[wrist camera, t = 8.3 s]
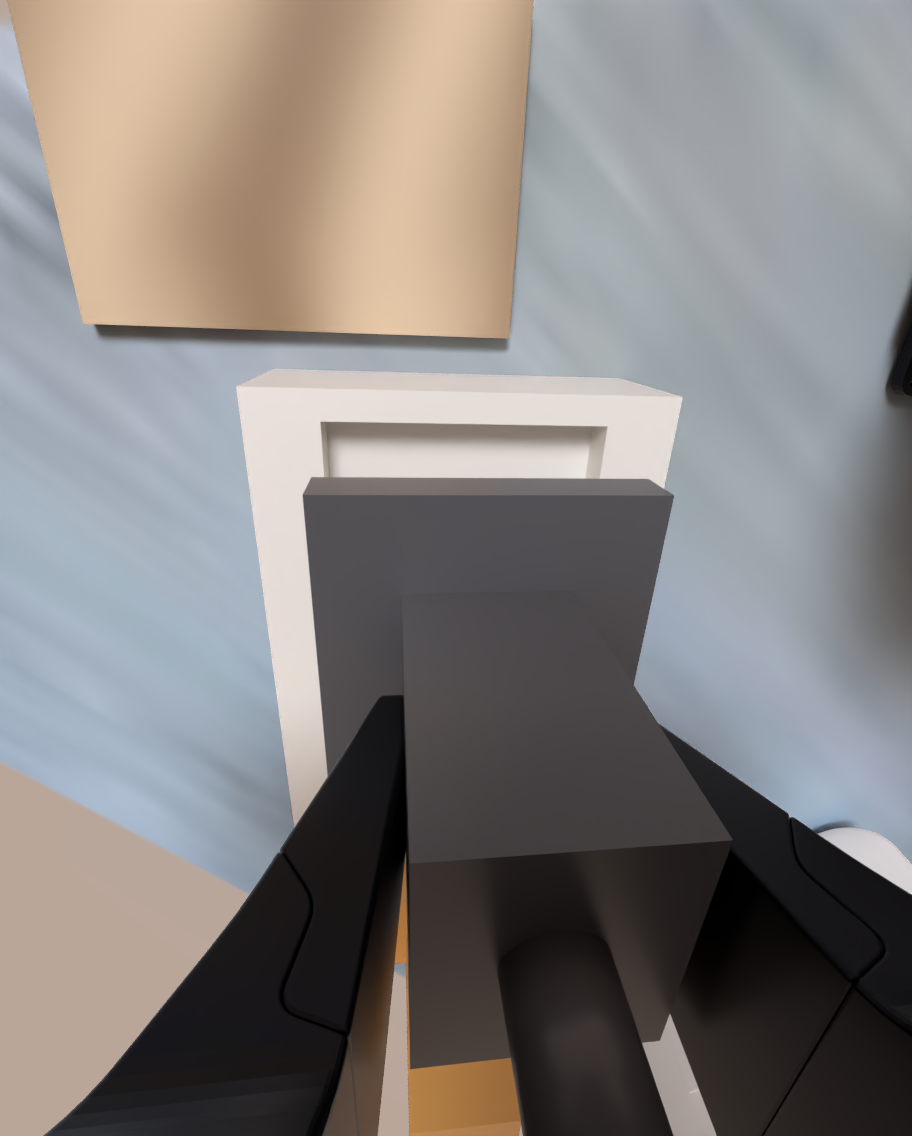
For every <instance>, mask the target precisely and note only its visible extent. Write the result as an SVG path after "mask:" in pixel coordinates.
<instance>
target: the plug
mask: <svg viewBox="0 0 912 1136" xmlns="http://www.w3.org/2000/svg"><path fill="white" fill-rule="evenodd" d="M673 498H674V495H672V494H671V493H669V492H668V491H666V490H665V489H663V488H662V487H660V486H659V485H657V484H656V483H654V482H652V481H651V480H649V479H584V478H386V477H311V479H310V481H309V483H308V485H307V487H306V489H305V491H304V493H303V506H304V518H305V529H306V540H307V551H308V562H309V573H310V585H311V596H312V607H313V618H314V629H315V640H316V652H317V663H318V674H319V685H320V696H321V707H322V719H323V730H324V741H325V752H326V763H327V774H328V775H329V774H330V772H331V771H332V769H333V767H334V766H335V764H336V763H337V761H338V760H339V758H340V757H341V755H342V754H343V752H344V751H345V749H346V747H347V746H348V744H349V743H350V741H351V740H352V738H353V737H354V735H355V734H356V732H357V731H358V729H359V727H360V726H361V724H362V723H363V721H364V720H365V718H366V717H367V715H368V714H369V712H370V711H371V709H372V707H373V706H374V704H375V703H376V701H377V700H378V699H379V697H381V696H384V695H403V702H404V734H405V810H406V854H405V859H406V904H407V949H408V994H409V1040H410V1069H417V1068H426V1067H435V1066H444V1065H453V1064H461V1063H470V1062H479V1061H488V1060H496V1059H505V1058H511V1063H512V1069H513V1075H514V1082H515V1088H516V1094H517V1101H518V1107H519V1114H520V1120H521V1126H522V1132H523V1136H674V1135H673V1133H672V1130H671V1127H670V1124H669V1121H668V1118H667V1115H666V1112H665V1109H664V1106H663V1103H662V1100H661V1097H660V1094H659V1091H658V1088H657V1086H656V1083H655V1080H654V1077H653V1074H652V1071H651V1068H650V1065H649V1062H648V1059H647V1056H646V1053H645V1050H644V1047H643V1044H642V1043H645V1042H654V1041H660V1039H661V1036H662V1034H663V1031H664V1028H665V1025H666V1023H667V1020H668V1017H669V1014H670V1012H671V1009H672V1006H673V1004H674V1001H675V998H676V995H677V993H678V990H679V987H680V984H681V982H682V979H683V976H684V973H685V971H686V968H687V965H688V963H689V960H690V957H691V954H692V952H693V949H694V946H695V943H696V941H697V938H698V935H699V932H700V930H701V927H702V924H703V921H704V919H705V916H706V913H707V911H708V908H709V905H710V902H711V900H712V897H713V894H714V891H715V889H716V886H717V883H718V880H719V878H720V875H721V872H722V869H723V867H724V864H725V861H726V859H727V856H728V853H729V850H730V848H731V845H732V842H733V839H732V838H731V836H730V835H729V833H728V831H727V830H726V828H725V827H724V825H723V824H722V822H721V821H720V819H719V817H718V816H717V814H716V813H715V811H714V810H713V808H712V807H711V805H710V803H709V802H708V800H707V799H706V797H705V796H704V794H703V793H702V791H701V790H700V788H699V786H698V785H697V783H696V782H695V780H694V779H693V777H692V776H691V774H690V772H689V771H688V769H687V768H686V766H685V765H684V763H683V762H682V760H681V758H680V757H679V755H678V754H677V752H676V751H675V749H674V748H673V746H672V744H671V743H670V741H669V740H668V738H667V737H666V735H665V734H664V732H663V730H662V729H661V727H660V726H659V724H658V723H657V721H656V720H655V718H654V716H653V715H652V713H651V712H650V710H649V709H648V707H647V706H646V704H645V702H644V701H643V699H642V698H641V696H640V695H639V693H638V692H637V690H636V689H635V687H634V680H635V675H636V671H637V666H638V661H639V657H640V652H641V647H642V643H643V638H644V633H645V629H646V624H647V619H648V615H649V610H650V605H651V601H652V596H653V591H654V587H655V582H656V577H657V573H658V568H659V563H660V559H661V554H662V549H663V545H664V540H665V535H666V531H667V526H668V521H669V517H670V512H671V507H672V503H673Z"/></svg>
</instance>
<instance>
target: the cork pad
mask: <svg viewBox="0 0 912 1136" xmlns="http://www.w3.org/2000/svg"><path fill="white" fill-rule="evenodd" d="M7 2H8V7H9V11H10V15H11V20H12V24H13V28H14V32H15V37H16V41H17V45H18V49H19V54H20V58H21V62H22V66H23V71H24V75H25V79H26V83H27V88H28V92H29V96H30V100H31V105H32V109H33V113H34V117H35V122H36V126H37V130H38V134H39V139H40V143H41V147H42V151H43V156H44V160H45V164H46V168H47V173H48V177H49V181H50V185H51V190H52V194H53V198H54V202H55V207H56V211H57V215H58V219H59V224H60V228H61V232H62V236H63V241H64V245H65V249H66V253H67V258H68V262H69V266H70V270H71V275H72V279H73V283H74V287H75V292H76V296H77V300H78V304H79V309H80V313H81V317H82V321H83V324H103V325H132V326H161V327H190V328H219V329H248V330H277V331H305V332H334V333H363V334H392V335H421V336H450V337H478V338H507V339H509V335H510V321H511V307H512V293H513V279H514V265H515V251H516V237H517V223H518V209H519V195H520V181H521V167H522V153H523V139H524V125H525V111H526V97H527V82H528V68H529V54H530V40H531V26H532V12H533V0H7Z"/></svg>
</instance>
